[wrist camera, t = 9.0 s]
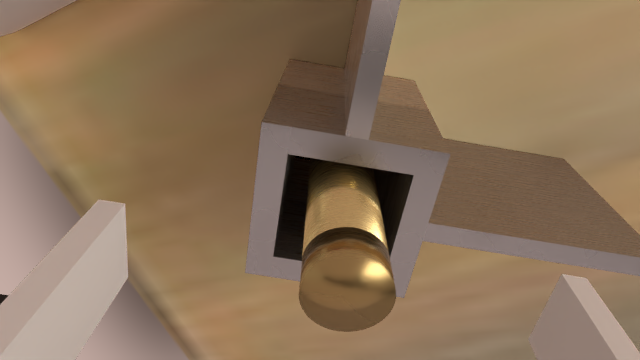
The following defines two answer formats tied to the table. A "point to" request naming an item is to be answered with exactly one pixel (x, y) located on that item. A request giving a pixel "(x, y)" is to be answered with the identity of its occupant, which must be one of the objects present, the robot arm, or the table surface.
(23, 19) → the milk carton
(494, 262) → the table surface
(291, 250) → the hinge
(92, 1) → the table surface
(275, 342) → the table surface
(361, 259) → the pin
